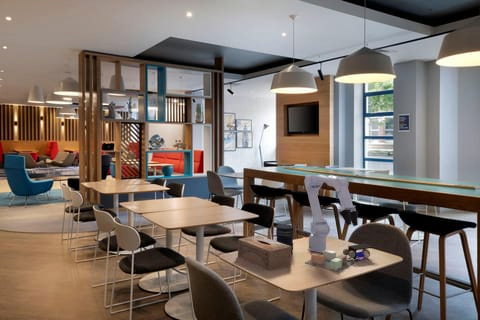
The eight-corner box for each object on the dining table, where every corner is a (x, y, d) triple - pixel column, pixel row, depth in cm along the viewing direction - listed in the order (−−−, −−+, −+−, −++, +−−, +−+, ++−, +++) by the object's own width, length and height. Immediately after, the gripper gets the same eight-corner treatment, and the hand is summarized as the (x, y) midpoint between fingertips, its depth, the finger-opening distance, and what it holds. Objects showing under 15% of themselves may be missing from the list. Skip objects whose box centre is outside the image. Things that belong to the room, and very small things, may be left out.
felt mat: (304, 263, 196) (304, 262, 196) (323, 254, 211) (323, 253, 211) (339, 272, 184) (339, 271, 184) (355, 262, 199) (355, 261, 199)
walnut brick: (341, 266, 191) (341, 258, 191) (335, 264, 194) (336, 257, 193) (346, 263, 196) (346, 255, 196) (340, 261, 198) (341, 254, 198)
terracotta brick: (311, 262, 197) (311, 254, 197) (314, 260, 199) (314, 253, 199) (321, 264, 193) (321, 257, 193) (324, 263, 196) (324, 255, 195)
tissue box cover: (290, 265, 192) (291, 246, 192) (269, 271, 184) (270, 251, 183) (258, 252, 213) (258, 235, 212) (237, 257, 204) (238, 239, 204)
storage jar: (272, 252, 213) (272, 226, 212) (281, 248, 221) (282, 223, 220) (286, 256, 207) (287, 229, 206) (296, 252, 214) (297, 226, 213)
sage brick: (336, 270, 186) (336, 262, 186) (330, 268, 188) (330, 260, 188) (341, 266, 190) (341, 259, 190) (335, 265, 192) (336, 257, 192)
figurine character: (351, 264, 198) (373, 259, 204) (350, 250, 197) (372, 245, 203) (342, 261, 204) (364, 255, 210) (342, 247, 203) (364, 242, 209)
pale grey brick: (322, 258, 204) (323, 250, 203) (325, 256, 206) (325, 249, 206) (333, 260, 200) (333, 253, 200) (335, 259, 202) (336, 251, 202)
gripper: (346, 195, 189) (353, 222, 184) (358, 198, 199) (365, 223, 194) (333, 199, 193) (340, 225, 188) (346, 202, 203) (353, 227, 198)
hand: (352, 225), depth 191 cm, fingers open, 7 cm apart
